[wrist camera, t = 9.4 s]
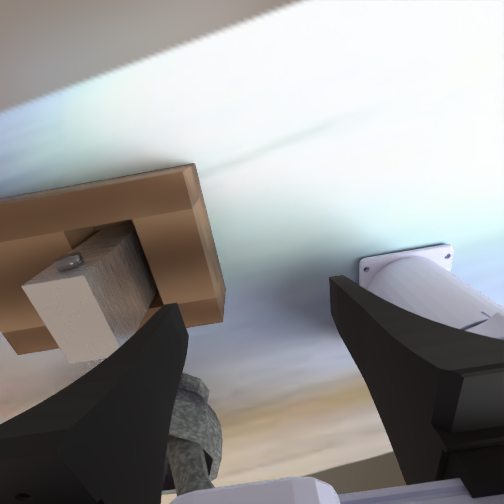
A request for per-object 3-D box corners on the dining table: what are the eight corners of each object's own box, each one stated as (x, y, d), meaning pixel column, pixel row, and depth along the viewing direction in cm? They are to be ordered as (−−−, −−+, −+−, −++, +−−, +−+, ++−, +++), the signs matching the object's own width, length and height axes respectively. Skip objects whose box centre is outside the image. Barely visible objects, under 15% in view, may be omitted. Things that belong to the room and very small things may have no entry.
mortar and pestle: (184, 432, 32) (155, 587, 21) (118, 395, 29) (45, 554, 18) (251, 385, 29) (258, 537, 18) (187, 339, 26) (149, 487, 15)
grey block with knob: (164, 284, 22) (127, 362, 14) (129, 290, 22) (73, 370, 14) (140, 215, 19) (79, 265, 12) (100, 222, 19) (15, 277, 12)
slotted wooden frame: (225, 289, 24) (222, 321, 20) (55, 317, 24) (17, 355, 20) (194, 163, 19) (182, 171, 15) (-15, 201, 20) (-81, 219, 16)
